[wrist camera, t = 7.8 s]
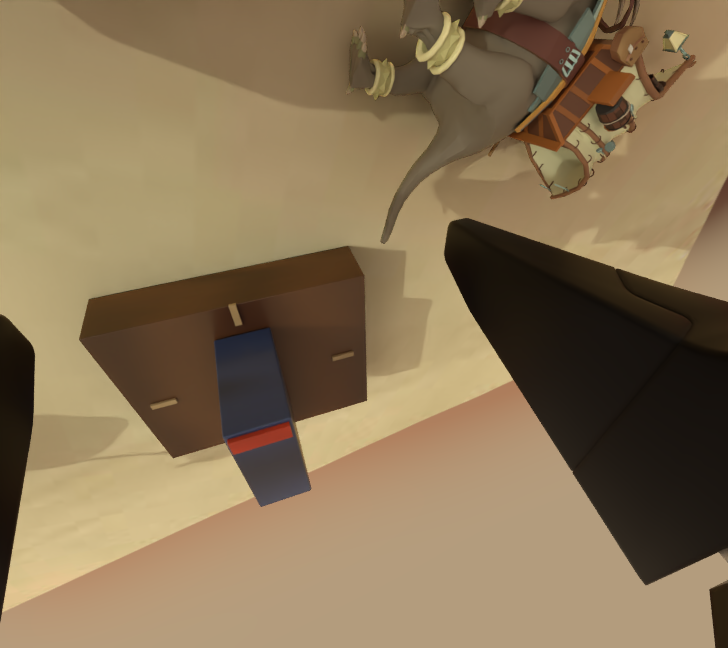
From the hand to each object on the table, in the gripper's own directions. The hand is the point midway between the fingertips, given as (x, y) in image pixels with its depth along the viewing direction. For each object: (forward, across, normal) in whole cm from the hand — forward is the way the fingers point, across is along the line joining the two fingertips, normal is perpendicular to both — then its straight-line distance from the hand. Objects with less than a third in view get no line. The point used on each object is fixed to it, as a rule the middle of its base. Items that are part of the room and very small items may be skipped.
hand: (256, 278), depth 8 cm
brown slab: (+12, +2, +14) cm, 19 cm away
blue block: (+9, +2, +14) cm, 17 cm away
